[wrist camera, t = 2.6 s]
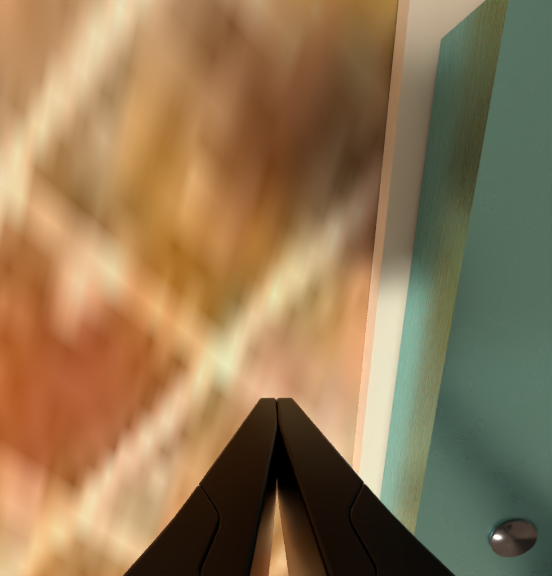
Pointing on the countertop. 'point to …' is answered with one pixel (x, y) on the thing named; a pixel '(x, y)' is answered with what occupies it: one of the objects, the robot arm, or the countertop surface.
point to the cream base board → (398, 217)
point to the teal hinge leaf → (481, 306)
